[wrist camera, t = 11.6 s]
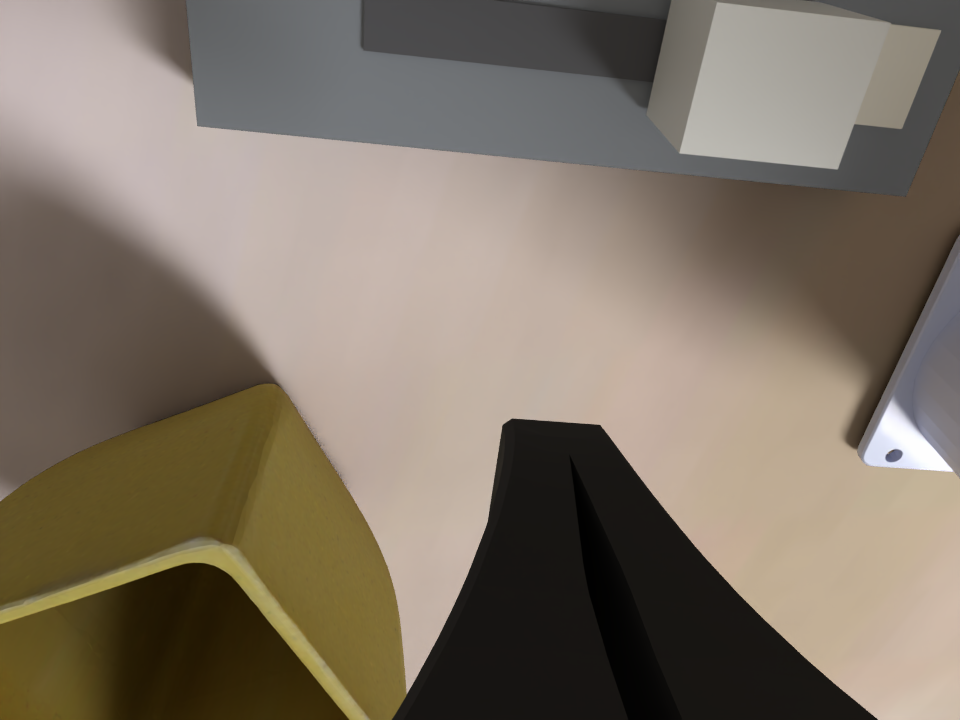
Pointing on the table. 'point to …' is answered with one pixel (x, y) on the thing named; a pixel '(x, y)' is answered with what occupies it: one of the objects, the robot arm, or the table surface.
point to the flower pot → (197, 579)
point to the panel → (534, 81)
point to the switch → (763, 79)
